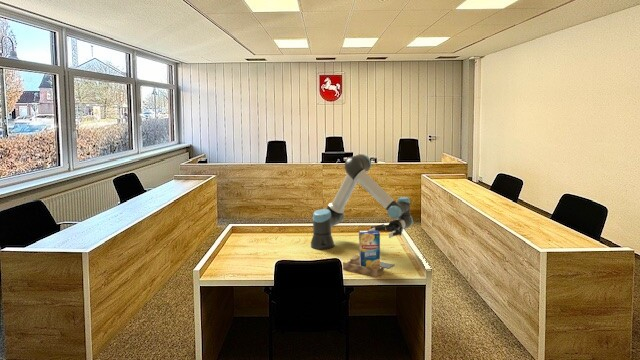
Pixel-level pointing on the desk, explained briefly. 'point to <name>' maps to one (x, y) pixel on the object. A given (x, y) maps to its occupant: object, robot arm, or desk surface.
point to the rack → (362, 269)
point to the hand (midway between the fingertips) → (379, 234)
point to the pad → (386, 265)
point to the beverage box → (369, 249)
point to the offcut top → (354, 259)
